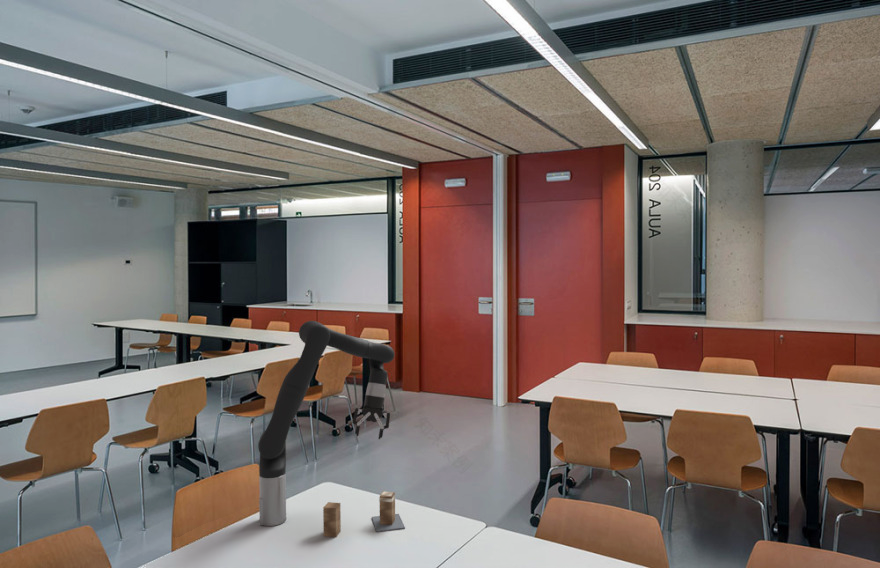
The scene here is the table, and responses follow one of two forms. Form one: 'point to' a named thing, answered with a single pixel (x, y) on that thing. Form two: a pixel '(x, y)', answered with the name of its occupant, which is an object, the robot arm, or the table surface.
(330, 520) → the plain box
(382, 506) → the label box
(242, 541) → the table surface
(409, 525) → the table surface
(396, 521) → the slate mat
